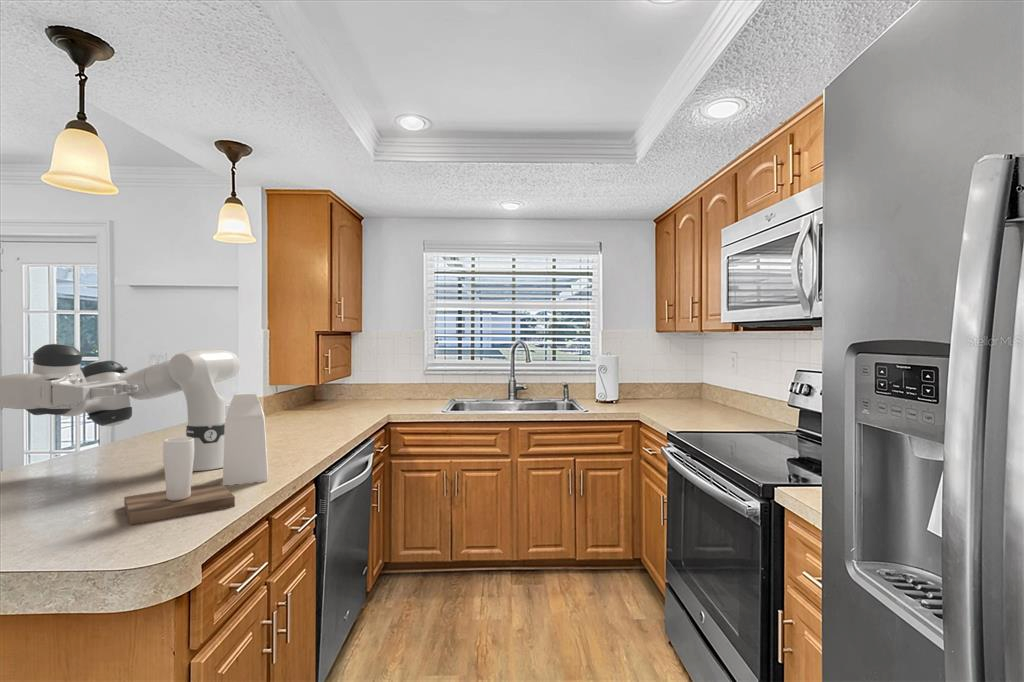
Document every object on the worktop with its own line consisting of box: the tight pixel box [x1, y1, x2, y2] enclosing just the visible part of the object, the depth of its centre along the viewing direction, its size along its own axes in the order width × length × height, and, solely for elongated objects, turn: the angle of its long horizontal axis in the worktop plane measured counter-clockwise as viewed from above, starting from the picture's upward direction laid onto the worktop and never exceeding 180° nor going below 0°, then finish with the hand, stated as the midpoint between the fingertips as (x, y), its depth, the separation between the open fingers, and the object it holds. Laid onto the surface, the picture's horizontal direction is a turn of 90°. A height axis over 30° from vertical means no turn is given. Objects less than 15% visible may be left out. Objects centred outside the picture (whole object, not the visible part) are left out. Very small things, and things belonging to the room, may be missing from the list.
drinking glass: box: [162, 436, 194, 501], centre depth 139 cm, size 7×7×15 cm
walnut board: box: [123, 481, 236, 526], centre depth 141 cm, size 18×22×2 cm
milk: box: [222, 392, 269, 487], centre depth 167 cm, size 12×12×26 cm
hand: (126, 390), depth 139 cm, fingers open, 8 cm apart
